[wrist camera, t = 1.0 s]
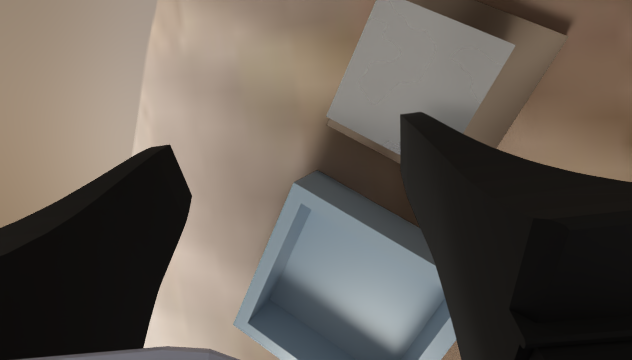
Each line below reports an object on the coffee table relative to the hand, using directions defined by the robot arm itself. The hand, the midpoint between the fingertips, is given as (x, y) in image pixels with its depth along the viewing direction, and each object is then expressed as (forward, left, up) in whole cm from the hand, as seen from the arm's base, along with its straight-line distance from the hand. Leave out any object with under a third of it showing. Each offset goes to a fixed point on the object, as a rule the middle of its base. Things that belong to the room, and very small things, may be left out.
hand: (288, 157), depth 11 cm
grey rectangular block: (-2, -3, -13) cm, 14 cm away
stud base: (-2, -3, -14) cm, 14 cm away
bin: (-4, +12, -14) cm, 19 cm away
